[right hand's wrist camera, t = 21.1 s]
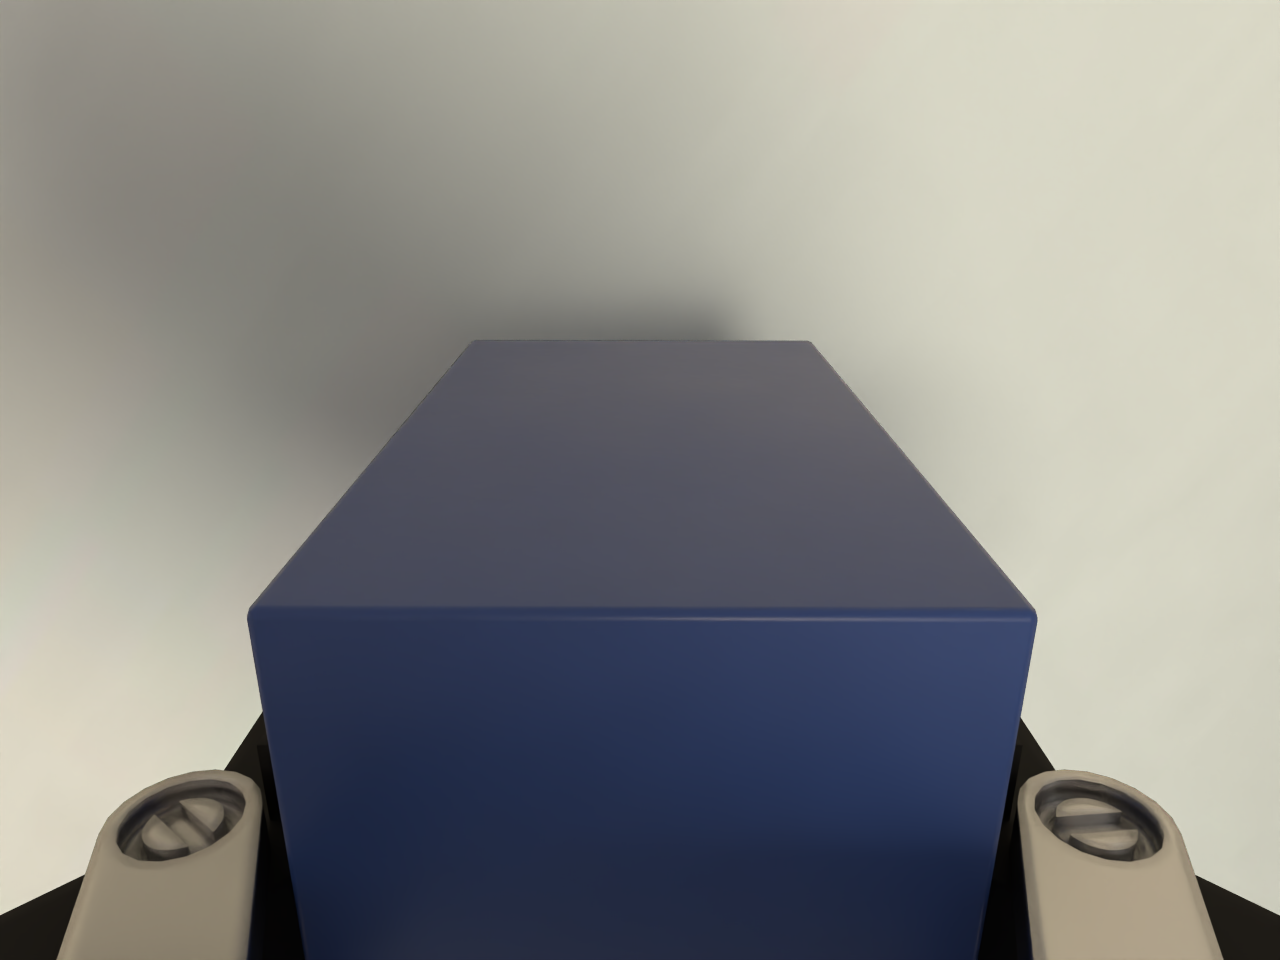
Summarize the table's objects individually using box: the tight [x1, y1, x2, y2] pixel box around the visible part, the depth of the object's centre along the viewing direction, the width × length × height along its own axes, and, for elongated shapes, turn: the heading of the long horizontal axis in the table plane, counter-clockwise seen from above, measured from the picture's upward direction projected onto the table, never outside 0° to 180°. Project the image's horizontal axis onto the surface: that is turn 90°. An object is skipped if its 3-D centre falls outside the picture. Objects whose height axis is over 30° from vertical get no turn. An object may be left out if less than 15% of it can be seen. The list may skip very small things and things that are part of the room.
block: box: [247, 340, 1037, 960], centre depth 11 cm, size 5×7×9 cm
